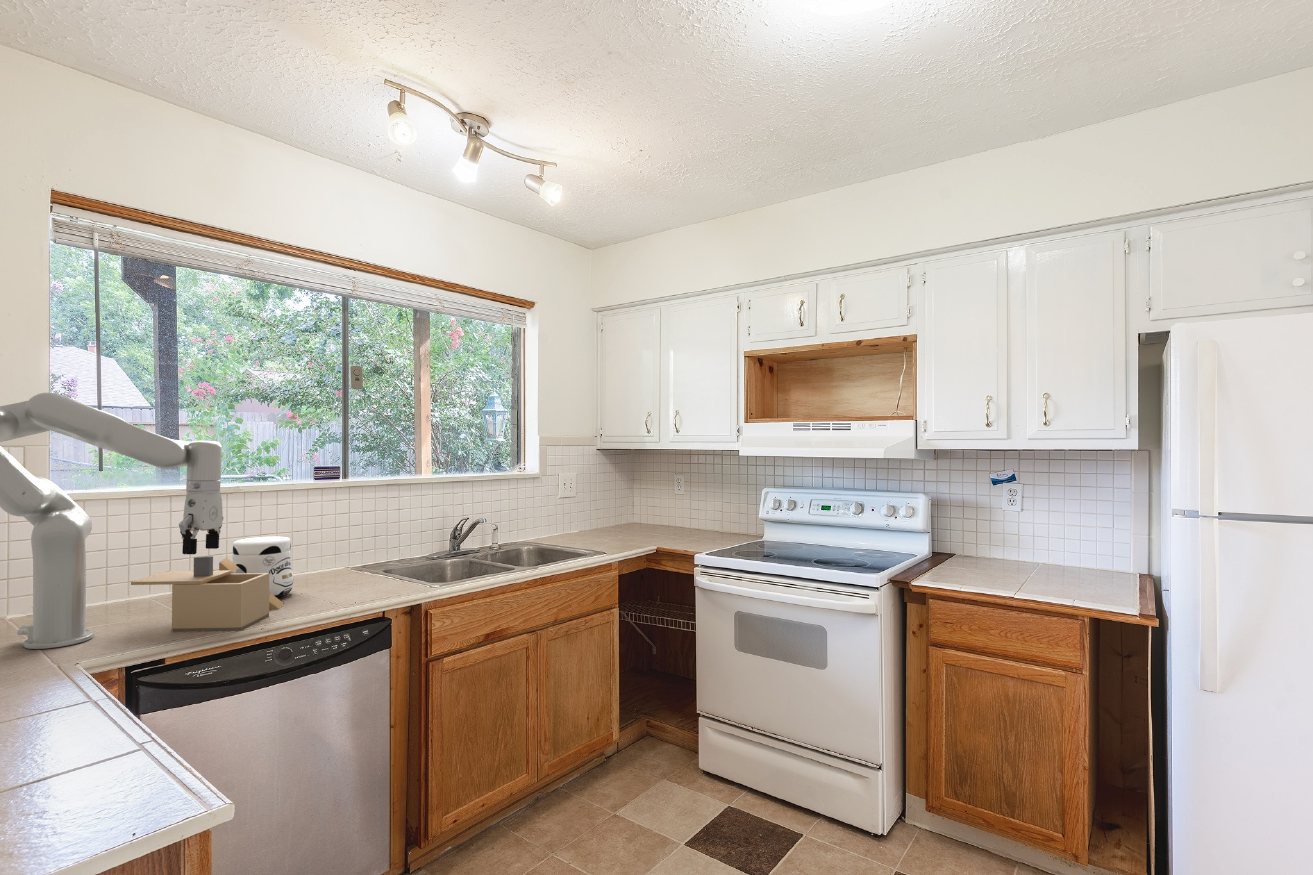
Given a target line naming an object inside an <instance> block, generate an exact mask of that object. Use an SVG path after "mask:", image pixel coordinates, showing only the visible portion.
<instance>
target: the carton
mask: <svg viewBox="0 0 1313 875" xmlns="http://www.w3.org/2000/svg"><path fill="white" fill-rule="evenodd" d="M268 617H270V610H269V573H240V574H228V575H225V576H223V577H220V578H217V579H214V580H211V581H208V582H205V583H203V584H171V632H172V633H174V632H181V633H182V632H226V631H227V632H229V631H234V632H235V631H237V632H239V631H240V632H241V631H243V630H245V629H247V628H249V627H251V626H253V625H255V624H256V623H258V622H260V620H261V621H262V620H264V619H266V618H268Z"/></svg>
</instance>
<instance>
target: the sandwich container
mask: <svg viewBox="0 0 1313 875" xmlns="http://www.w3.org/2000/svg"><path fill="white" fill-rule="evenodd" d="M220 570H232V573H231V574H240V573H245V572H244V571H242V570H241V569H240V568H239V567H238V566H236V565H235V564H234V563H233V561H231V560H230V559H229V558H228V557H226V558H224V559H222V560H220V561H219V564H218V571H220ZM283 603H284V601H281V599H279V597H275V596H274V595H272V594H271V593H270V592H269V611H278V610H281V609H282V607H284V604H283ZM281 606H282V607H281ZM280 608H281V609H280Z"/></svg>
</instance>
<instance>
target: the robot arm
mask: <svg viewBox="0 0 1313 875" xmlns="http://www.w3.org/2000/svg"><path fill="white" fill-rule="evenodd" d="M50 431H52V432H55V433H57V434H60V435H63V436H66V437H69V438H72V439H75V440H78V441H81V442H84V443H87V444H89V445H92V446H95V447H98V448H100V449H103V450H106V451H110V452H114V453H117V454H120V455H122V456H125V457H128V458H130V459H134V460H135V461H136V460H137V461H139V462H142V463H145V464H148V465H150V466H153V467H156V468H160V469H164V470H170V469H174V468H175V469H176V468H181V467H186V483H185V484H186V487H185V492H186V495H185V499H184V506H183V519H182V520H181V521H179V523H178V528H179V530H180V531H179V532H180V536H181V539H182V554H183V555H196V554H197V550H198V548H197V547H198V539H197V538H196V537H197V535H198V533H199V531H201V532H202V531H206V532H207V533H205V549H206V550H207V549H208V550H209V549H210V550H211V549H213V550H216V549H217V550H218V549H219V548H220V534H221V529H222V526H223V521H224V516H223V515H224V514H223V499H222V493H221V480H222V479H221V478H222V476H221V475H222V451H223V449H222V445H221V443H220V442H218V441H213V440H212V441H210V440H193V441H187V440H186V441H184V440H177V439H171V438H168V437H166V436H162V435H160V434H158V433H154V432H151V431H150V430H146V429H144V428H141V427H138V426H136V425H134V424H132V423H129V422H128V421H126V420H124V419H123V418H122V417H119V416H116V415H114V414H113V413H109V412H107V411H103V410H101V409H98V408H95V407H93V406H90V405H87V404H85V403H82V402H79V401H76V400H73V399H71V398H69V397H66V396H64V395H61V394H58V393H54V392H53V393H52V392H41V393H38V394H36V395H33V396H32V397H30V398H29V399H28V400H25V401H20V402H14V403H10V404H5V405H1V406H0V443H1V442H2V443H3V442H8V441H12V440H15V439H21V438H23V437H30V436H33V435H37V434H41V433H45V432H50ZM0 508H1V509H2V510H3V511H4V512H5V513H7V514H9V515H10V516H13V517H14V516H15V517H21V518H22V517H23V518H24V519H25V520H26V521H28V522H29V524H31V525H32V526H33V528H32V531H31V536H30V544H31V554H32V624H23V625H21V627H20V628H19V629H18V630H17V632H16V634H17V635H18V636H19V635H20V636H22V635H27V639H26V640H24V641H23V647H24V648H25V649H29V650H43V649H45V650H46V649H53V648H60V647H66V646H72V645H75V644H79V643H83V642H86V641H88V640H89V641H90V640H91V639H92V638H94V637H95V636H94V635H95V634H94V633H95V632H94V631H93V630H91V629H86V628H87V627H86V623H87V621H86V618H87V615H86V614H87V612H86V611H87V559H86V558H87V556H86V555H87V554H86V539H87V538H88V537H89V535H90V534H91V531H92V528H93V524H92V520H91V518H90V516H89V515H88V514H87V513H86V512H85V510H83V509H82V507H80V506H79V505H78V503H77V502H75V501H74V500H73V499H72V498H71V497H70V496H69V495H68V494H67V493H65V492H64V491H63V490H62V489H61V488H60V487H59V486H58V485H57V484H56V483H55V482H53V481H52V480H50V479H48V478H46V477H44V476H39V475H33V474H32V473H31V472H30V471H29V470H27V469H26V468H25V467H24V466H23V465H22V464H20V462H19V461H18V460H17V459H16V458H15V457H14V456H13V455H11V454H10V453H9V452H7V451H6V450H5V448H3V446H1V444H0Z"/></svg>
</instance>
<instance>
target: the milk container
mask: <svg viewBox="0 0 1313 875" xmlns="http://www.w3.org/2000/svg"><path fill="white" fill-rule="evenodd" d="M232 545H233V546H232V562H233V563H234V564H235V565H236V566H238V567H239V568H240V569H241V570H242V571H244V572H245V573H269V592H270V593H271V594H272V595H274V596H275V597H276V598H280V597H282V596H285V595H288V594H289V593H290V592H291V591H292V589H293V587H294V583H295V582H294V579H295V578H294V572H293V569H292V565H291V563H292V562H291V557H292V554H291V553H292V552H291V551H292V550H291V548H292V544H291V537H286V536H259V537H258V536H257V537H249V538H242V539H237V540H235V541H233V544H232Z"/></svg>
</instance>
